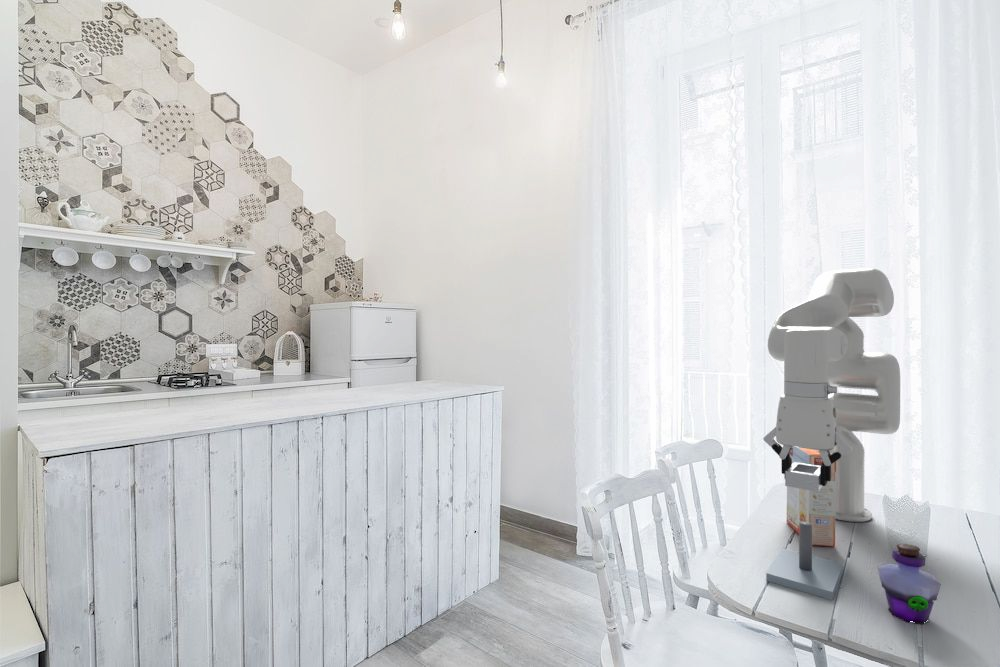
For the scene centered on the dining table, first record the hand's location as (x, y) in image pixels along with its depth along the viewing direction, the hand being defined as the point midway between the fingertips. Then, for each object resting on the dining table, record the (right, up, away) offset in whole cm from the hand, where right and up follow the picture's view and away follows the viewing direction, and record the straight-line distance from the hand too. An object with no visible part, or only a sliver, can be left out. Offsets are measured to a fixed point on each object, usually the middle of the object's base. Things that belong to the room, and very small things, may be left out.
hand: (805, 480), depth 101 cm
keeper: (0, -19, 0) cm, 19 cm away
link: (0, -1, 0) cm, 1 cm away
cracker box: (+13, -19, +20) cm, 30 cm away
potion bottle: (+10, -20, -13) cm, 26 cm away
